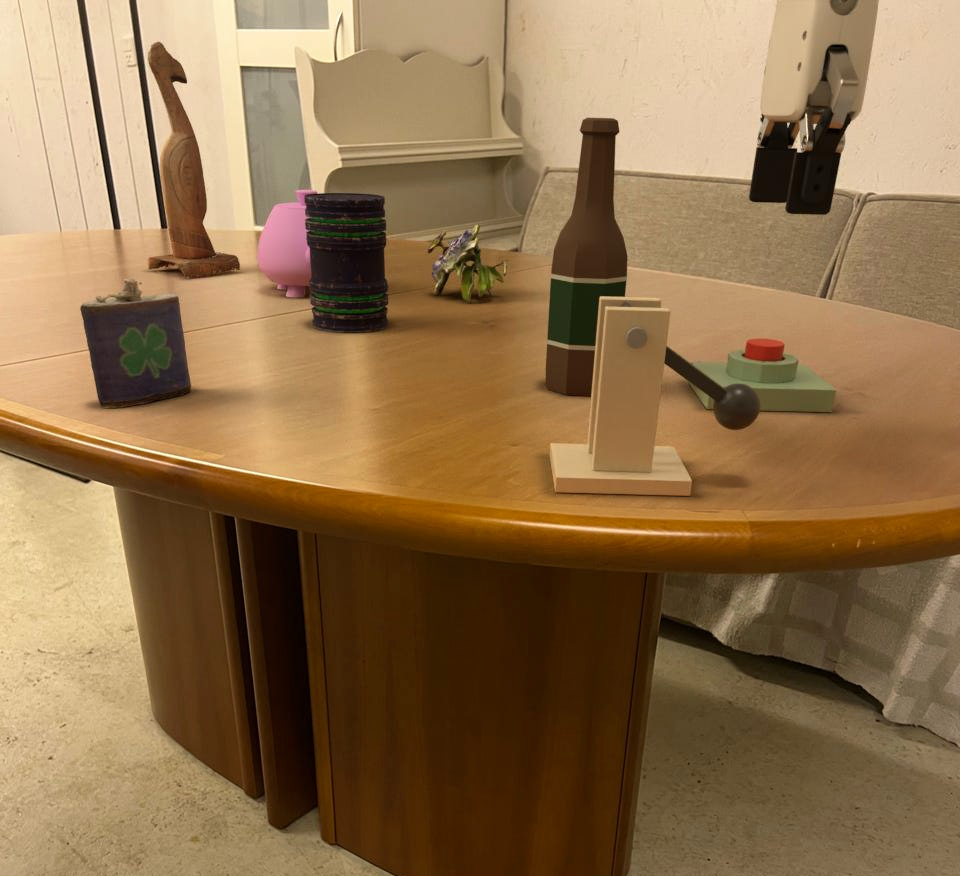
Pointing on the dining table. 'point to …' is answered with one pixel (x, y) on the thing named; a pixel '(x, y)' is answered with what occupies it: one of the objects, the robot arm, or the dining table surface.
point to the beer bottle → (585, 264)
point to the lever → (718, 393)
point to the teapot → (286, 247)
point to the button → (764, 350)
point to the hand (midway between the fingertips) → (786, 207)
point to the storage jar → (347, 261)
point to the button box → (771, 383)
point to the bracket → (624, 409)
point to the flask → (136, 347)
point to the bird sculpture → (183, 181)
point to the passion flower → (464, 264)
